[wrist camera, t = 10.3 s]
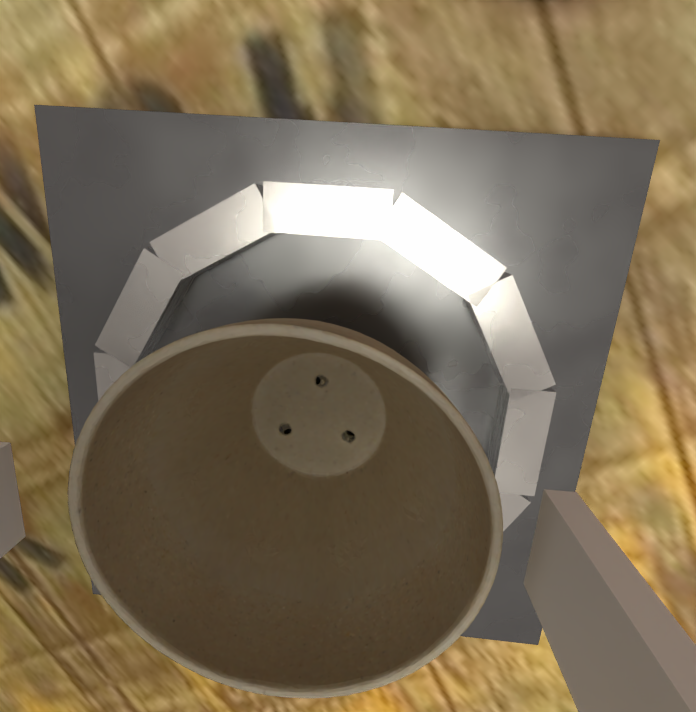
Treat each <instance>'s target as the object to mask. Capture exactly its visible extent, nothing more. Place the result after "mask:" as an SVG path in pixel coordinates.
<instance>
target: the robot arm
mask: <svg viewBox="0 0 696 712" xmlns="http://www.w3.org/2000/svg"><path fill="white" fill-rule="evenodd" d="M24 537H25V530H24V524H23V517H22V511H21V505H20V499H19V493H18V486H17V480H16V474H15V468H14V462H13V455H12V449H11V443H9V442H0V558H2V557H3V556H4V555H5V554H6V553H7V552H8V551H9V550H11V549H12V548H13V547H14V546H15V545H16V544H17V543H19V542H20V541H21V540H22V539H23V538H24ZM524 586H525V588H526V590H527V593H528V595H529V597H530V600H531V602H532V604H533V607H534V609H535V611H536V614H537V616H538V618H539V621H540V623H541V625H542V628H543V630H544V632H545V635H546V637H547V639H548V642H549V644H550V646H551V649H552V651H553V653H554V656H555V658H556V660H557V663H558V665H559V667H560V670H561V672H562V674H563V677H564V679H565V681H566V684H567V686H568V688H569V691H570V693H571V695H572V698H573V700H574V702H575V705H576V707H577V709H578V712H696V645H695V644H694V642H693V641H692V640H691V639H690V637H689V636H688V635H687V633H686V632H685V631H684V630H683V628H682V627H681V626H680V624H679V623H678V622H677V621H676V619H675V618H674V617H673V615H672V614H671V613H670V612H669V610H668V609H667V608H666V606H665V605H664V604H663V603H662V601H661V600H660V599H659V597H658V596H657V595H656V594H655V592H654V591H653V590H652V588H651V587H650V586H649V585H648V583H647V582H646V581H645V579H644V578H643V577H642V576H641V574H640V573H639V572H638V570H637V569H636V568H635V567H634V565H633V564H632V563H631V561H630V560H629V559H628V558H627V556H626V555H625V554H624V552H623V551H622V550H621V549H620V547H619V546H618V545H617V543H616V542H615V541H614V540H613V538H612V537H611V536H610V535H609V533H608V532H607V531H606V529H605V528H604V527H603V526H602V524H601V523H600V522H599V520H598V519H597V518H596V517H595V515H594V514H593V513H592V511H591V510H590V509H589V508H588V506H587V505H586V504H585V502H584V501H583V500H582V499H581V497H580V496H579V495H578V493H577V492H570V491H559V490H547V489H544V491H543V496H542V500H541V505H540V510H539V514H538V519H537V524H536V528H535V533H534V538H533V542H532V547H531V551H530V556H529V561H528V565H527V570H526V575H525V579H524Z"/></svg>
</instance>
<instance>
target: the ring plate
mask: <svg viewBox="0 0 696 712" xmlns="http://www.w3.org/2000/svg"><path fill="white" fill-rule="evenodd" d="M34 106H35V114H36V122H37V131H38V139H39V148H40V156H41V164H42V173H43V181H44V189H45V198H46V206H47V214H48V223H49V231H50V239H51V248H52V256H53V264H54V273H55V281H56V289H57V298H58V306H59V314H60V323H61V331H62V340H63V348H64V356H65V365H66V373H67V381H68V390H69V398H70V406H71V415H72V423H73V431H74V440H75V445H76V442H77V439H78V437H79V435H80V433H81V430H82V428H83V426H84V424H85V422H86V420H87V418H88V416H89V415H90V413H91V411H92V409H93V408H94V406H95V405H96V404H97V402H98V401H99V400H100V398H101V397H102V395H103V394H104V393H105V391H106V390H107V389H108V388H109V387H110V386H111V385H112V384H113V383H114V382H115V381H116V380H117V379H118V378H119V377H120V376H121V375H122V374H123V373H125V372H126V371H127V370H128V369H129V368H131V367H132V366H133V365H134V364H136V363H137V362H139V361H140V360H141V359H143V358H144V357H146V356H148V355H149V354H151V353H153V352H155V351H156V350H158V349H160V348H162V347H164V346H166V345H168V344H170V343H172V342H174V341H177V340H179V339H181V338H184V337H186V336H189V335H193V334H196V333H199V332H202V331H206V330H209V329H212V328H216V327H220V326H224V325H228V324H233V323H238V322H244V321H250V320H259V319H273V318H294V319H308V320H315V321H321V322H326V323H331V324H335V325H338V326H342V327H345V328H348V329H351V330H354V331H357V332H360V333H362V334H364V335H366V336H369V337H371V338H373V339H375V340H377V341H379V342H381V343H383V344H384V345H386V346H388V347H389V348H391V349H393V350H394V351H396V352H397V353H399V354H400V355H401V356H403V357H404V358H406V359H407V360H408V361H410V362H411V363H412V364H414V365H415V366H416V367H417V368H419V369H420V370H421V371H422V372H423V373H424V374H425V375H426V376H427V377H429V378H430V379H431V380H432V381H433V382H434V383H435V384H436V385H437V386H438V387H439V388H440V389H441V390H442V392H443V393H444V394H445V395H446V396H447V397H448V399H449V400H450V401H451V402H452V403H453V405H454V406H455V407H456V408H457V410H458V411H459V412H460V414H461V415H462V416H463V418H464V419H465V421H466V422H467V423H468V425H469V426H470V428H471V429H472V430H473V432H474V434H475V436H476V437H477V439H478V441H479V442H480V444H481V446H482V448H483V450H484V452H485V454H486V456H487V458H488V461H489V463H490V466H491V468H492V471H493V473H494V476H495V479H496V481H497V485H498V489H499V494H500V499H501V506H502V516H503V542H502V551H501V557H500V562H499V566H498V570H497V573H496V576H495V579H494V582H493V585H492V587H491V590H490V592H489V594H488V596H487V598H486V600H485V603H484V604H483V606H482V608H481V609H480V611H479V613H478V614H477V616H476V617H475V619H474V620H473V622H472V623H471V624H470V626H469V627H468V628H467V630H466V631H465V632H464V633H462V634H461V636H465V637H474V638H482V639H491V640H500V641H508V642H517V643H526V644H534V645H538V643H539V639H540V635H541V631H542V625H541V623H540V621H539V618H538V616H537V614H536V611H535V609H534V607H533V604H532V602H531V600H530V597H529V595H528V593H527V590H526V588H525V586H524V579H525V575H526V570H527V565H528V561H529V556H530V551H531V547H532V542H533V538H534V533H535V528H536V524H537V519H538V514H539V510H540V505H541V500H542V496H543V491H544V489H547V490H559V491H570V492H575V490H576V486H577V482H578V478H579V473H580V469H581V465H582V461H583V457H584V453H585V449H586V444H587V440H588V436H589V432H590V428H591V424H592V419H593V415H594V411H595V407H596V403H597V399H598V395H599V390H600V386H601V382H602V378H603V374H604V370H605V366H606V361H607V357H608V353H609V349H610V345H611V341H612V337H613V332H614V328H615V324H616V320H617V316H618V312H619V308H620V303H621V299H622V295H623V291H624V287H625V283H626V279H627V274H628V270H629V266H630V262H631V258H632V254H633V250H634V245H635V241H636V237H637V233H638V229H639V225H640V221H641V216H642V212H643V208H644V204H645V200H646V196H647V192H648V187H649V183H650V179H651V175H652V171H653V167H654V163H655V158H656V154H657V150H658V146H659V142H660V140H648V139H631V138H613V137H595V136H577V135H560V134H542V133H524V132H507V131H489V130H471V129H454V128H436V127H418V126H400V125H383V124H365V123H347V122H330V121H312V120H294V119H277V118H259V117H241V116H223V115H206V114H188V113H170V112H153V111H135V110H117V109H100V108H82V107H64V106H46V105H34ZM320 381H321V379H320V377H317V378H316V384H319V383H320ZM290 432H291V429H286V430H284V434H288V433H290ZM347 432H348V433H349V434H351V435H354V434H353V433H352V432H350V431H347ZM91 582H92V590H93V594H99V595H101V593H100V592H99V590H98V589H97V588H96V586H95V585H94V583H93V581H92V579H91Z"/></svg>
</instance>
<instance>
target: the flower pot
mask: <svg viewBox="0 0 696 712" xmlns="http://www.w3.org/2000/svg"><path fill="white" fill-rule="evenodd" d="M317 377H320V379H321V381H320V383H319V384H316V378H317ZM286 429H291V432H290V433H288V434H284V430H286ZM347 431H350V432H352V433H353V434H354V435H351V434H349V433H348V432H347ZM68 507H69V514H70V520H71V525H72V531H73V534H74V537H75V542H76V546H77V548H78V551H79V553H80V556H81V559H82V561H83V563H84V566H85V567H86V570H87V572H88V574H89V575H90V577H91V579H92V581H93V583H94V585H95V586H96V588H97V589H98V590H99V592H100V593H101V595H102V596H103V598H104V599H105V600H106V602H107V603H108V604H109V605H110V606H111V607H112V609H113V610H114V611H115V613H116V614H117V615H118V616H119V617H120V618H121V619H122V620H123V621H124V622H125V623H126V624H127V625H128V626H129V627H130V628H131V629H132V630H133V631H134V632H135V633H137V634H138V635H139V636H140V637H141V638H142V639H144V640H145V641H146V642H147V643H149V644H150V645H152V646H153V647H154V648H155V649H157V650H158V651H160V652H161V653H162V654H164V655H166V656H167V657H169V658H170V659H172V660H174V661H175V662H177V663H179V664H181V665H182V666H184V667H186V668H188V669H189V670H191V671H194V672H196V673H198V674H200V675H202V676H204V677H206V678H208V679H211V680H213V681H216V682H219V683H221V684H224V685H228V686H230V687H233V688H236V689H241V690H244V691H249V692H253V693H257V694H264V695H269V696H278V697H288V698H329V697H336V696H345V695H351V694H354V693H361V692H364V691H368V690H371V689H375V688H378V687H382V686H384V685H387V684H389V683H391V682H394V681H397V680H399V679H401V678H403V677H405V676H407V675H409V674H411V673H413V672H415V671H416V670H418V669H420V668H421V667H423V666H424V665H426V664H427V663H429V662H430V661H432V660H433V659H435V658H436V657H438V656H439V655H440V654H441V653H442V652H444V651H445V650H446V649H448V648H449V647H450V646H451V645H452V644H453V643H454V642H455V641H456V640H457V639H458V638H459V637H460V636H461V634H462V633H464V632H465V631H466V630H467V628H468V627H469V626H470V624H471V623H472V622H473V620H474V619H475V617H476V616H477V614H478V613H479V611H480V609H481V608H482V606H483V604H484V603H485V600H486V598H487V596H488V594H489V592H490V590H491V587H492V585H493V582H494V579H495V576H496V573H497V570H498V566H499V562H500V557H501V551H502V542H503V516H502V506H501V499H500V494H499V489H498V485H497V481H496V479H495V476H494V473H493V471H492V468H491V466H490V463H489V461H488V458H487V456H486V454H485V452H484V450H483V448H482V446H481V444H480V442H479V441H478V439H477V437H476V436H475V434H474V432H473V430H472V429H471V428H470V426H469V425H468V423H467V422H466V421H465V419H464V418H463V416H462V415H461V414H460V412H459V411H458V410H457V408H456V407H455V406H454V405H453V403H452V402H451V401H450V400H449V399H448V397H447V396H446V395H445V394H444V393H443V392H442V390H441V389H440V388H439V387H438V386H437V385H436V384H435V383H434V382H433V381H432V380H431V379H430V378H429V377H427V376H426V375H425V374H424V373H423V372H422V371H421V370H420V369H419V368H417V367H416V366H415V365H414V364H412V363H411V362H410V361H408V360H407V359H406V358H404V357H403V356H401V355H400V354H399V353H397V352H396V351H394V350H393V349H391V348H389V347H388V346H386V345H384V344H383V343H381V342H379V341H377V340H375V339H373V338H371V337H369V336H366V335H364V334H362V333H360V332H357V331H354V330H351V329H348V328H345V327H342V326H338V325H335V324H331V323H326V322H321V321H315V320H308V319H294V318H273V319H259V320H250V321H244V322H238V323H233V324H228V325H224V326H220V327H216V328H212V329H209V330H206V331H202V332H199V333H196V334H193V335H189V336H186V337H184V338H181V339H179V340H177V341H174V342H172V343H170V344H168V345H166V346H164V347H162V348H160V349H158V350H156V351H155V352H153V353H151V354H149V355H148V356H146V357H144V358H143V359H141V360H140V361H139V362H137V363H136V364H134V365H133V366H132V367H131V368H129V369H128V370H127V371H126V372H125V373H123V374H122V375H121V376H120V377H119V378H118V379H117V380H116V381H115V382H114V383H113V384H112V385H111V386H110V387H109V388H108V389H107V390H106V391H105V393H104V394H103V395H102V397H101V398H100V400H99V401H98V402H97V404H96V405H95V406H94V408H93V409H92V411H91V413H90V415H89V416H88V418H87V420H86V422H85V424H84V426H83V428H82V430H81V433H80V435H79V437H78V439H77V442H76V445H75V448H74V451H73V457H72V461H71V465H70V471H69V482H68Z"/></svg>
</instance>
